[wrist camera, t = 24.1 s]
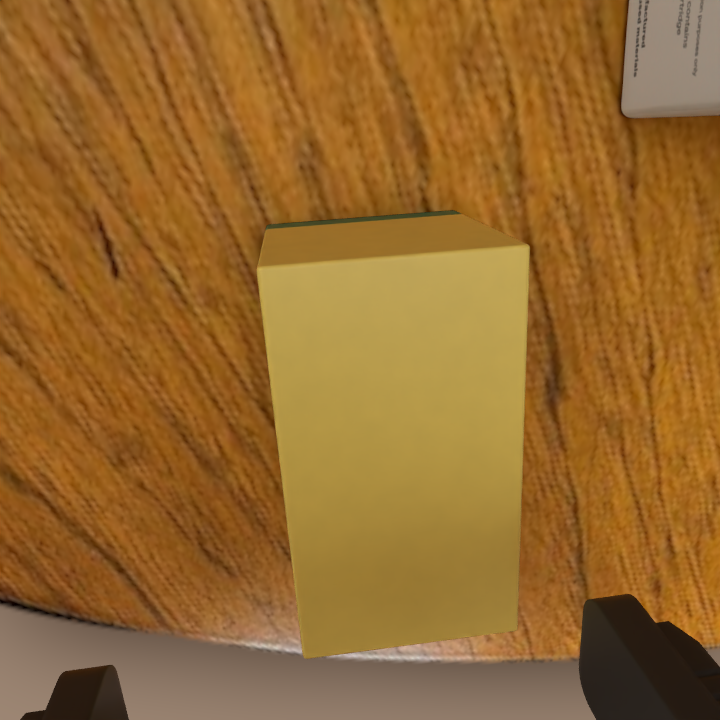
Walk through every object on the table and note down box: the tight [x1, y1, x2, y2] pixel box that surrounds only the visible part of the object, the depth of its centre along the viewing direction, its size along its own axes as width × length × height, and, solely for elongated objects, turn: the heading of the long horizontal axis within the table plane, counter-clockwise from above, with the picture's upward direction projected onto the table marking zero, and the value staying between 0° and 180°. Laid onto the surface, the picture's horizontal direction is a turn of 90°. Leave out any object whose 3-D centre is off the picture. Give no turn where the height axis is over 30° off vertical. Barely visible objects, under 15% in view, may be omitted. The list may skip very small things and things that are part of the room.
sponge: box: [257, 210, 530, 659], centre depth 15 cm, size 9×5×6 cm, turn 4°
